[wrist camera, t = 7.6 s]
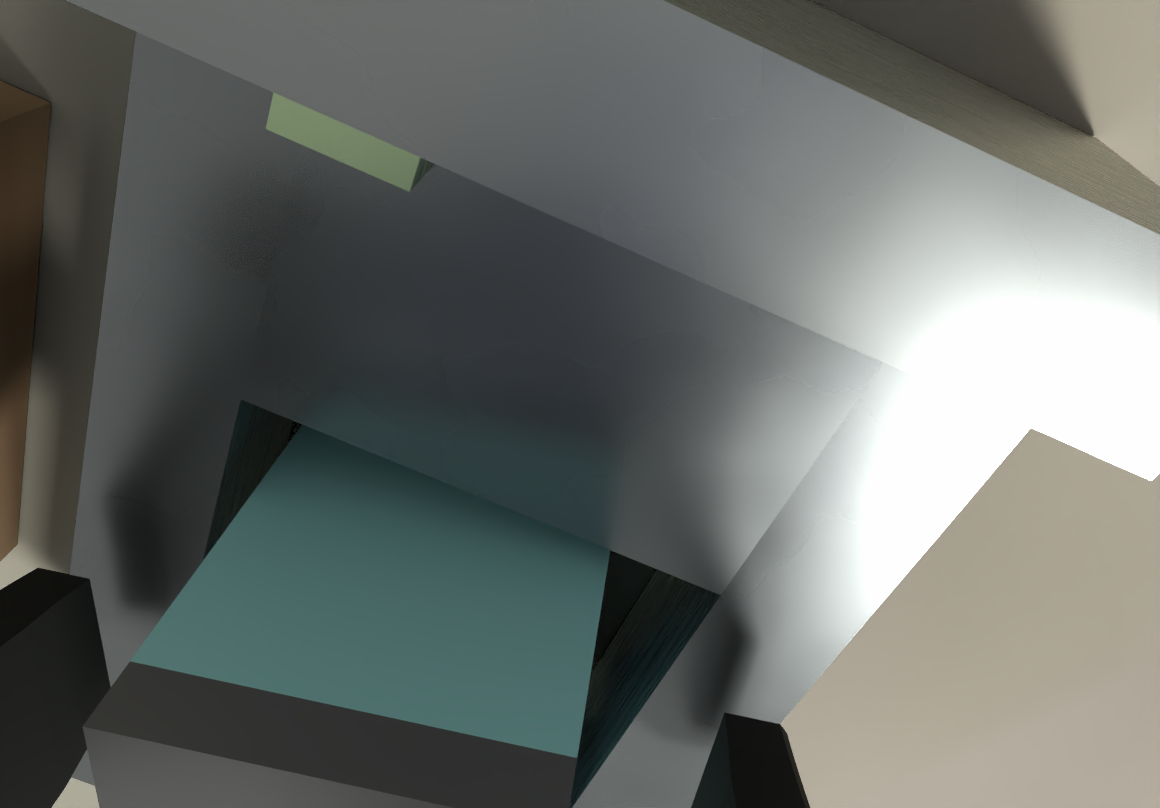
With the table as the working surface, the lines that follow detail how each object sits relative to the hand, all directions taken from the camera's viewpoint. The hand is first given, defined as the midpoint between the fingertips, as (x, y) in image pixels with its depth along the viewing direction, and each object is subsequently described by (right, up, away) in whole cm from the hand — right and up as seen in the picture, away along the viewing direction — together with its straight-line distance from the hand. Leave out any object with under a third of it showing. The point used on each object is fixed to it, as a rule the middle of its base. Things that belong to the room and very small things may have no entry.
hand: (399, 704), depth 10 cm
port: (+1, +3, +2) cm, 3 cm away
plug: (0, +2, +3) cm, 3 cm away
